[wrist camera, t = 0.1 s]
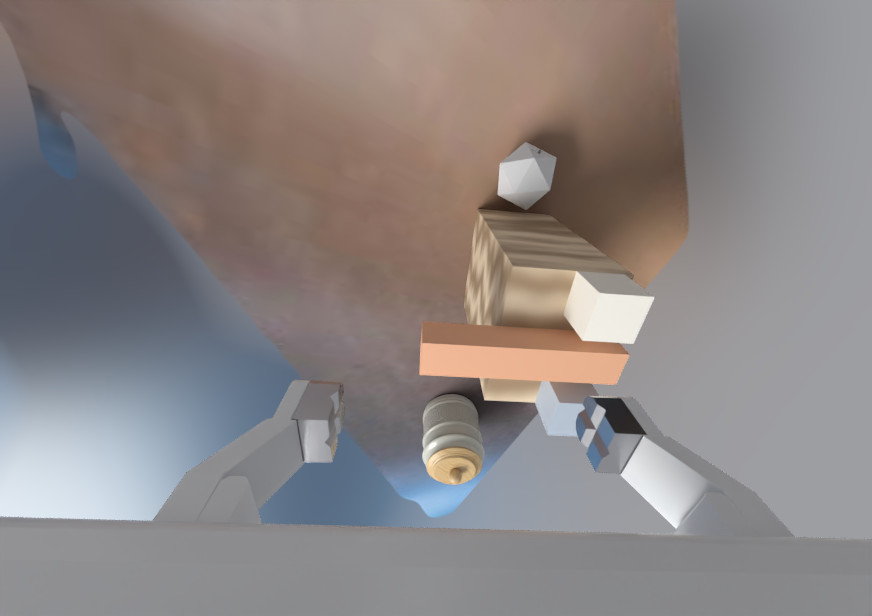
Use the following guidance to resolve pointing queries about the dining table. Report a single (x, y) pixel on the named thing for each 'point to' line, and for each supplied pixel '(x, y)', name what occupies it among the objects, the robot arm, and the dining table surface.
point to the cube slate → (562, 405)
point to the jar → (452, 439)
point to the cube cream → (606, 307)
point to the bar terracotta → (518, 354)
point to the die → (526, 175)
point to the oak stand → (525, 280)
